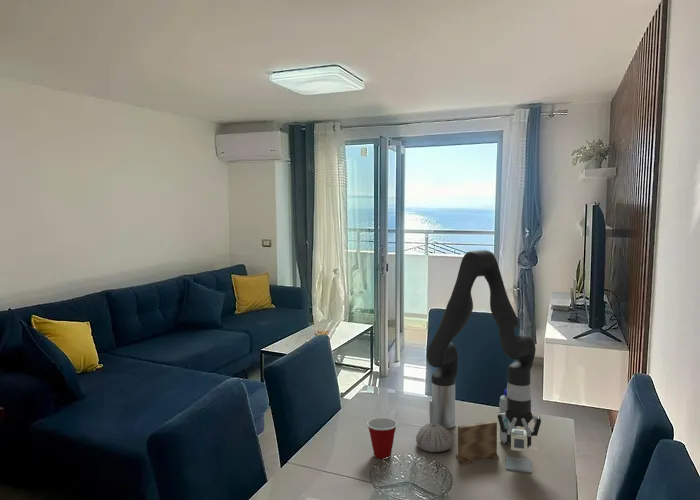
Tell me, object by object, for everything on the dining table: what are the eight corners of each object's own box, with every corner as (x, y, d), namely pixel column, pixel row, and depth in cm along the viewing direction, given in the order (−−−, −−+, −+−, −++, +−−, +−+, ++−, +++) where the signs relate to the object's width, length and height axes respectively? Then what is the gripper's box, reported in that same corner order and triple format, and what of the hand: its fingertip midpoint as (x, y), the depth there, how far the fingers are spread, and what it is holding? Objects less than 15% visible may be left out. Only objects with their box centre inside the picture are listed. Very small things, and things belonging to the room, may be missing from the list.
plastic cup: (398, 447, 173) (397, 415, 172) (397, 463, 162) (397, 429, 161) (368, 446, 174) (367, 415, 173) (365, 462, 163) (365, 428, 162)
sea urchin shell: (409, 449, 172) (409, 427, 171) (425, 434, 183) (425, 414, 182) (443, 459, 164) (443, 437, 164) (458, 443, 176) (458, 422, 175)
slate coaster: (505, 469, 157) (505, 468, 157) (505, 457, 165) (505, 456, 164) (531, 473, 154) (531, 471, 154) (530, 460, 162) (530, 459, 162)
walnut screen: (462, 464, 161) (462, 430, 160) (455, 457, 166) (455, 423, 165) (499, 458, 164) (499, 424, 163) (491, 451, 169) (491, 418, 168)
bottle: (519, 447, 172) (519, 393, 170) (499, 445, 173) (500, 392, 171) (516, 438, 178) (517, 386, 176) (497, 436, 179) (498, 385, 178)
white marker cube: (510, 442, 162) (510, 428, 162) (526, 444, 160) (526, 429, 160) (511, 450, 157) (511, 435, 157) (527, 451, 156) (527, 436, 155)
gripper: (496, 397, 156) (496, 448, 157) (543, 402, 152) (542, 453, 153) (496, 389, 163) (496, 437, 165) (541, 393, 159) (541, 442, 160)
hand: (518, 445), depth 159 cm, fingers closed on white marker cube, 5 cm apart
